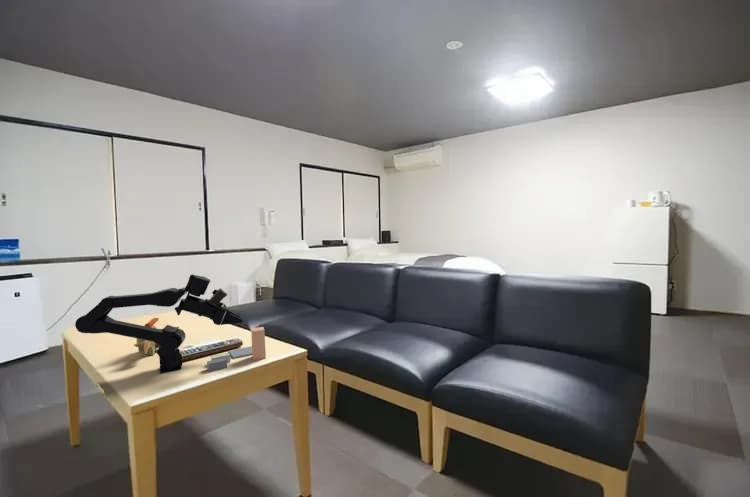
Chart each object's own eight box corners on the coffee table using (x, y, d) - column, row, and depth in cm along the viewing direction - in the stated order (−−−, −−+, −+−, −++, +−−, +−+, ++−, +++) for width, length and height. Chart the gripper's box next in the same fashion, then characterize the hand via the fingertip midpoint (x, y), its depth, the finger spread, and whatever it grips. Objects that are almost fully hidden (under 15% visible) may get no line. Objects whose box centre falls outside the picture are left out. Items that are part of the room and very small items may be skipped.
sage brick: (212, 366, 127) (212, 358, 127) (211, 364, 130) (211, 356, 130) (230, 362, 131) (230, 354, 130) (228, 360, 133) (228, 352, 133)
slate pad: (233, 358, 134) (233, 357, 134) (228, 352, 141) (228, 350, 141) (262, 352, 140) (262, 351, 140) (256, 346, 147) (256, 345, 147)
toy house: (167, 346, 151) (165, 315, 150) (155, 363, 131) (153, 327, 130) (145, 349, 148) (143, 317, 147) (129, 367, 128) (127, 330, 128)
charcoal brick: (208, 372, 122) (208, 364, 122) (207, 369, 125) (206, 361, 124) (227, 368, 125) (226, 359, 125) (225, 365, 128) (225, 357, 128)
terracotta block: (253, 360, 132) (251, 331, 131) (252, 356, 136) (251, 328, 135) (265, 358, 133) (264, 329, 133) (264, 354, 138) (263, 326, 137)
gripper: (209, 287, 121) (252, 302, 128) (207, 283, 138) (246, 297, 144) (194, 318, 119) (240, 331, 125) (195, 311, 136) (235, 323, 142)
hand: (240, 319), depth 134 cm, fingers open, 9 cm apart
